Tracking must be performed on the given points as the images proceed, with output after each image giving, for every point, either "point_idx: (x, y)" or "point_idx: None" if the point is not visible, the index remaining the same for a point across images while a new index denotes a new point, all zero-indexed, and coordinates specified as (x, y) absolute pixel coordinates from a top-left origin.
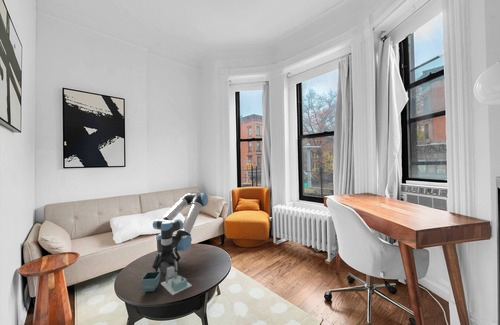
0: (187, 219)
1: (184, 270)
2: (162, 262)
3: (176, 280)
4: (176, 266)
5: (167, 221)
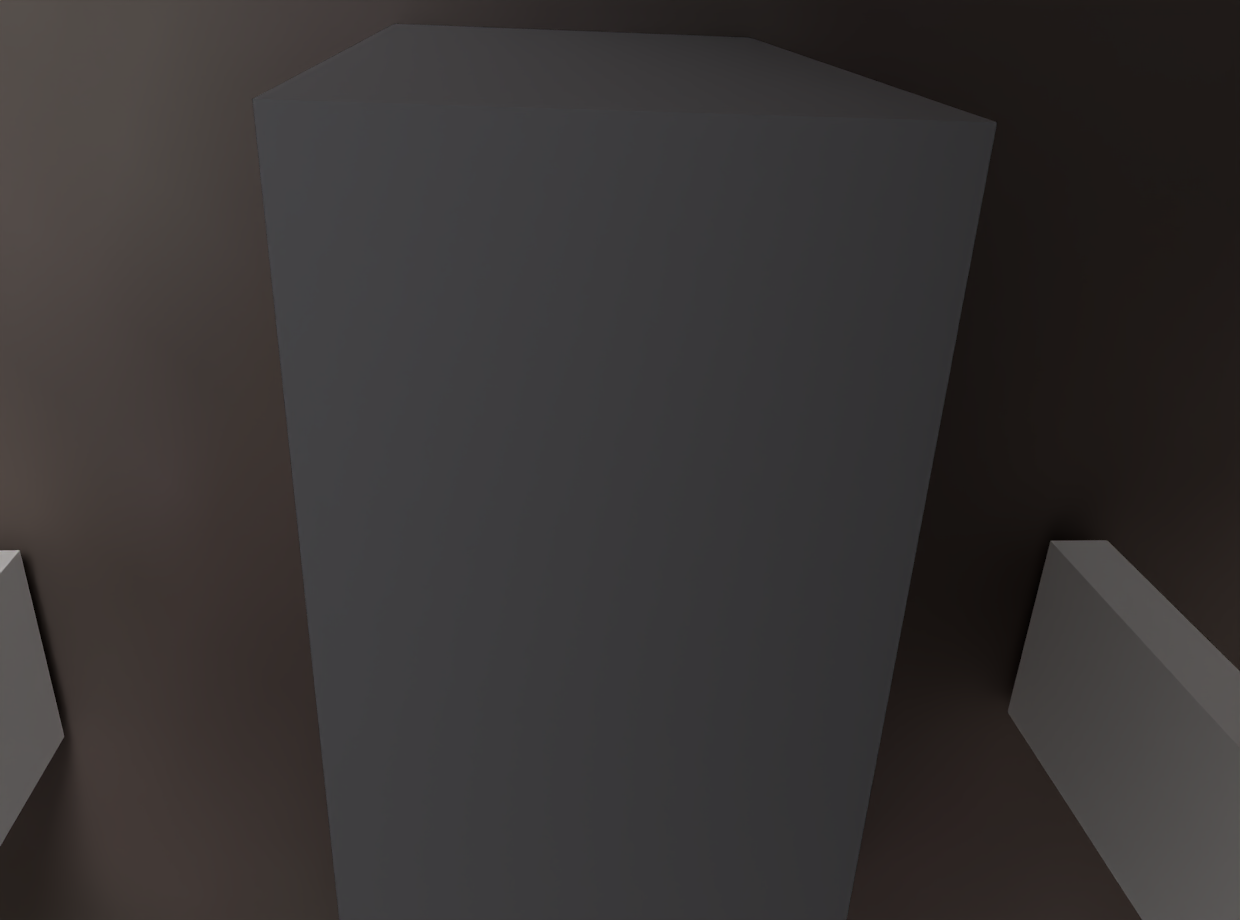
0: None
1: None
2: (515, 184)
3: None
4: (1139, 894)
5: None
